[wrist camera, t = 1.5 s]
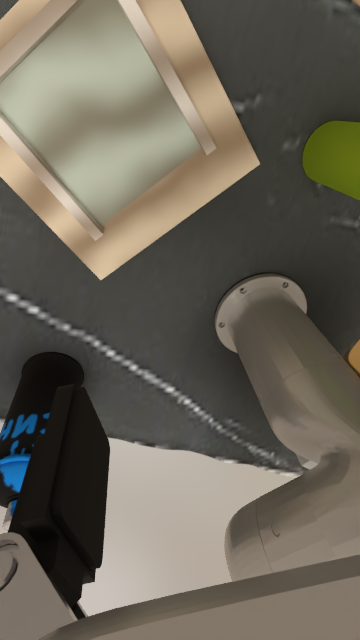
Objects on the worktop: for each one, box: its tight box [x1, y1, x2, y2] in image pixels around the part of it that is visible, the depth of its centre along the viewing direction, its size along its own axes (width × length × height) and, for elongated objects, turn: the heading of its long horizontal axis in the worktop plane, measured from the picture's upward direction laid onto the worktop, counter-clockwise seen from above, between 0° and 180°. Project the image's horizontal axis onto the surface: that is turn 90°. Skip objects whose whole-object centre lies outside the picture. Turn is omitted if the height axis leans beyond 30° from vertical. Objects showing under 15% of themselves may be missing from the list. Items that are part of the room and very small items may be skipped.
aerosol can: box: [0, 353, 84, 531], centre depth 38 cm, size 8×8×20 cm
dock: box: [0, 0, 260, 280], centre depth 29 cm, size 20×20×4 cm
